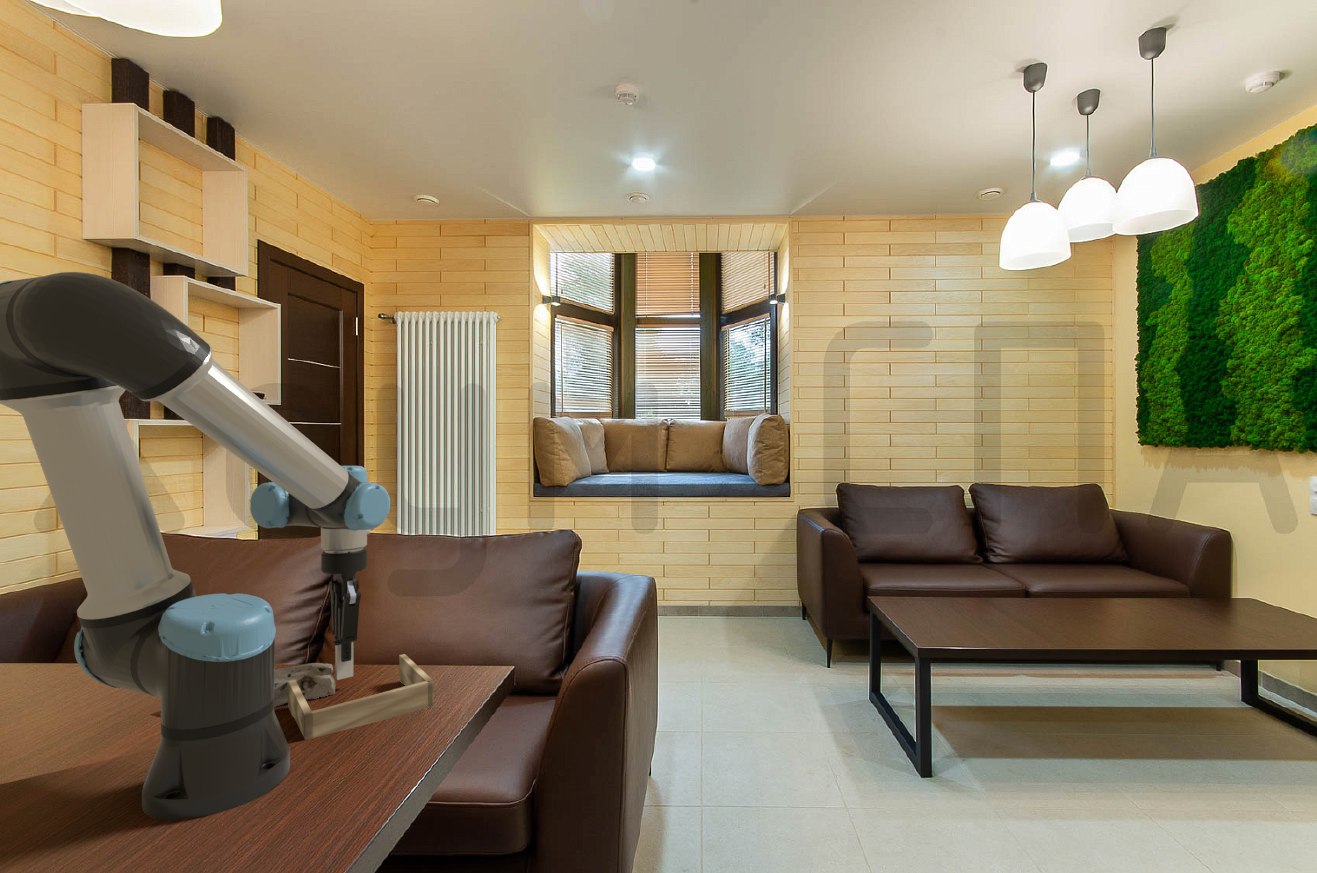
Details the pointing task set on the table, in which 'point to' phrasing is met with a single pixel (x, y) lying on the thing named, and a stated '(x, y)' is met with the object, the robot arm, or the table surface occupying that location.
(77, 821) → the table surface
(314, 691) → the stone
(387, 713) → the bracket
